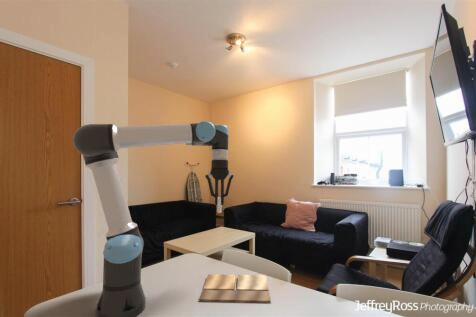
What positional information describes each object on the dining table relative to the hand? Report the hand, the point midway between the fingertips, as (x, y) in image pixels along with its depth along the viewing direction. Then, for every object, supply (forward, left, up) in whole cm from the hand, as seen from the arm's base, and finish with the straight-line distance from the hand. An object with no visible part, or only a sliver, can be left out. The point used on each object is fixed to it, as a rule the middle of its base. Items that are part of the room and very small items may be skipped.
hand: (219, 212), depth 109 cm
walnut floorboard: (+8, -18, -28) cm, 35 cm away
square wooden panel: (+15, -7, -28) cm, 32 cm away
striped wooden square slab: (+1, -7, -28) cm, 29 cm away
